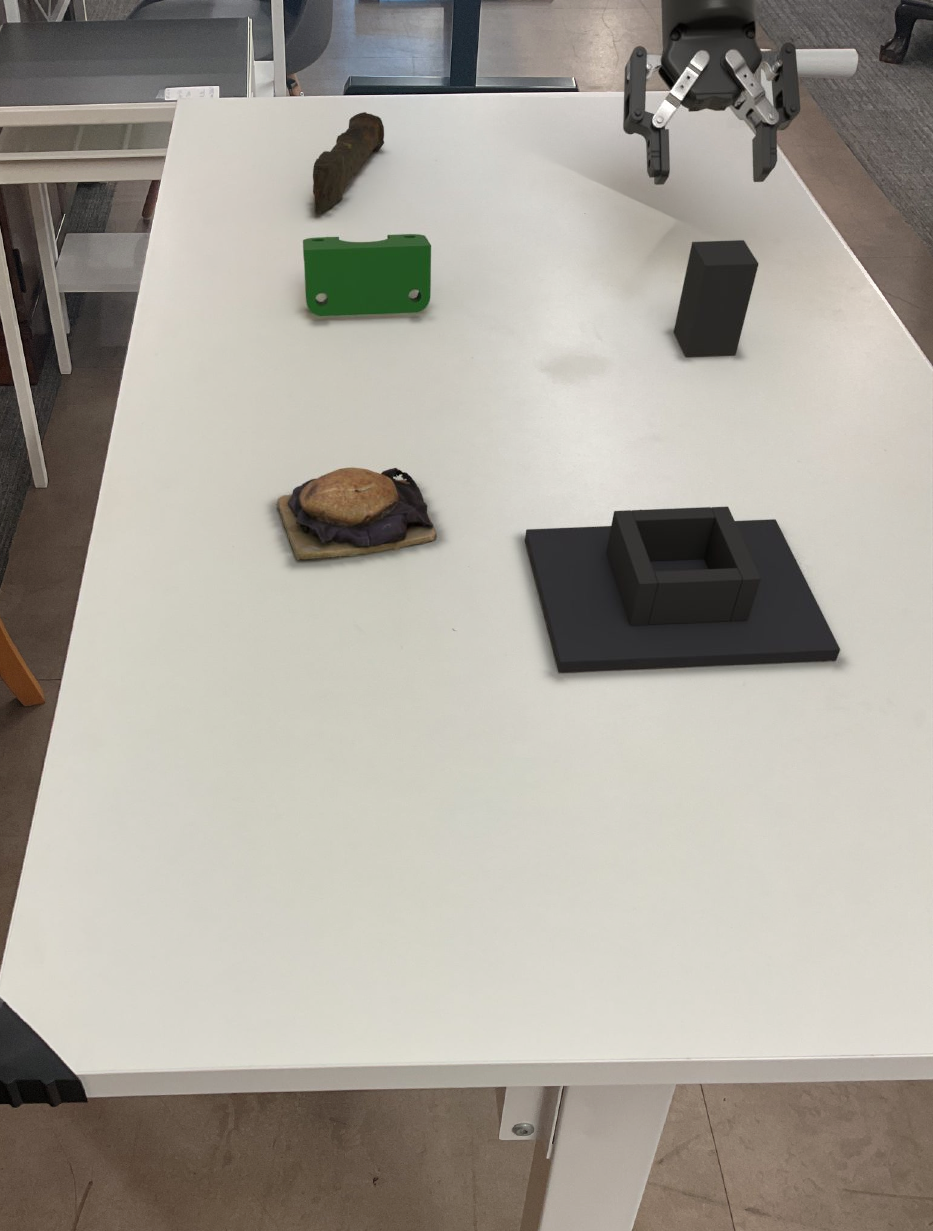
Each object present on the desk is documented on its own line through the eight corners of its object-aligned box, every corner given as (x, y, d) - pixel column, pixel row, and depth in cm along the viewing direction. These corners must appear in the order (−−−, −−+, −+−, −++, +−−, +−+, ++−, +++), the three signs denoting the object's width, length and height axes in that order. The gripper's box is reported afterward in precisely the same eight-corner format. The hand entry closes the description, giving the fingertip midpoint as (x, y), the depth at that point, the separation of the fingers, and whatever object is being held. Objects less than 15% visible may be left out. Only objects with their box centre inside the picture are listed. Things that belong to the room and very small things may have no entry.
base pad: (772, 530, 86) (789, 476, 82) (836, 660, 76) (858, 606, 73) (524, 540, 85) (531, 486, 82) (558, 673, 76) (567, 619, 72)
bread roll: (296, 569, 83) (294, 525, 81) (274, 500, 89) (271, 457, 86) (442, 546, 85) (444, 502, 82) (411, 479, 90) (412, 437, 87)
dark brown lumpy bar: (351, 147, 134) (350, 102, 131) (385, 151, 133) (385, 106, 130) (291, 215, 122) (289, 168, 119) (328, 220, 121) (326, 173, 118)
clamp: (402, 336, 114) (441, 240, 109) (408, 352, 109) (449, 253, 104) (284, 288, 111) (319, 188, 106) (285, 302, 106) (322, 198, 101)
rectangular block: (722, 330, 105) (743, 239, 99) (735, 355, 102) (759, 263, 96) (673, 332, 105) (692, 241, 99) (685, 357, 102) (705, 265, 96)
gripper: (635, -47, 95) (641, 161, 96) (810, -51, 95) (814, 155, 96) (611, 9, 103) (617, 201, 103) (774, 5, 103) (778, 196, 104)
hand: (712, 179), depth 100 cm, fingers open, 8 cm apart
